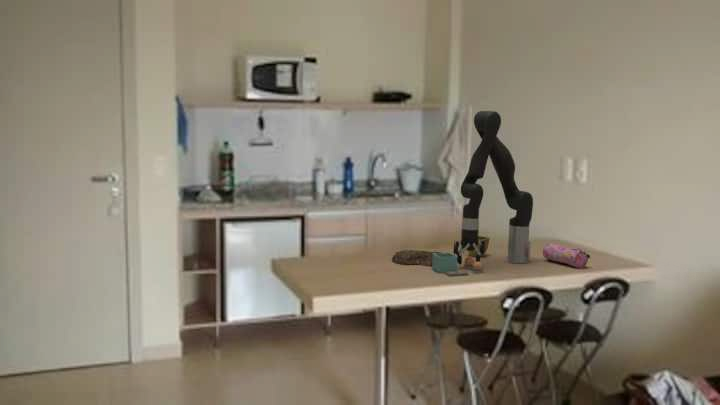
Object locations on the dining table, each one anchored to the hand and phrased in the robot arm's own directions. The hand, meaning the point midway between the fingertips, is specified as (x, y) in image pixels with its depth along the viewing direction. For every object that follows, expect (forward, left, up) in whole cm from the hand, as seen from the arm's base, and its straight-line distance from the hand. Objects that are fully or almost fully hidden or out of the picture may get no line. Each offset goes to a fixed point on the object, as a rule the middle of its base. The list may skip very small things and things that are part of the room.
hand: (468, 263), depth 326 cm
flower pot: (-15, -23, -2) cm, 28 cm away
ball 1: (0, 0, +1) cm, 1 cm away
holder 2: (0, +9, -2) cm, 9 cm away
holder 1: (0, 0, -2) cm, 2 cm away
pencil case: (-48, +2, -2) cm, 48 cm away
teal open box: (+13, +3, -2) cm, 13 cm away
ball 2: (0, +9, +1) cm, 9 cm away
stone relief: (+14, -19, -3) cm, 24 cm away
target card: (+10, +10, -2) cm, 15 cm away
